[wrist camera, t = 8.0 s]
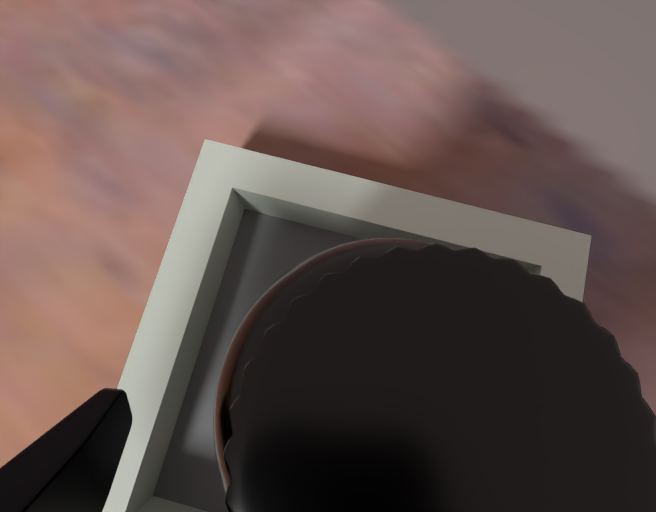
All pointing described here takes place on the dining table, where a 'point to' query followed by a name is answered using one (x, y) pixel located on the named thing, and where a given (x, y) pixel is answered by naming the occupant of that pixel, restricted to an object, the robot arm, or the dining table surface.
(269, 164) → the tray
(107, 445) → the robot arm
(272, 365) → the supplement bottle
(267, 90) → the dining table surface
